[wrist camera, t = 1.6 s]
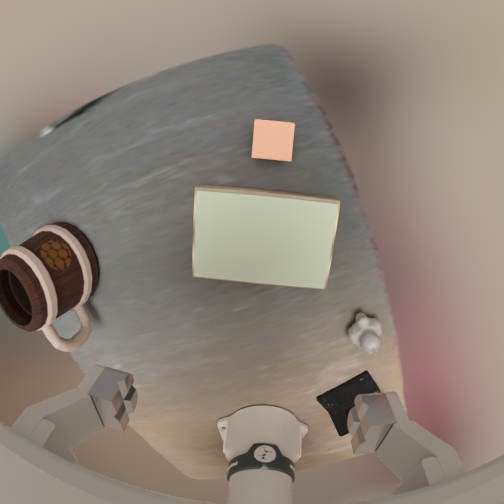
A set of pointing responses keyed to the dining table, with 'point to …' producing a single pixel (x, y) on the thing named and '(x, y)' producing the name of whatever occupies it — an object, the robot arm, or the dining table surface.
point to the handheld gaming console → (346, 399)
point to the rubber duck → (366, 334)
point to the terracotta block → (273, 140)
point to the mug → (49, 282)
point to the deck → (263, 236)
